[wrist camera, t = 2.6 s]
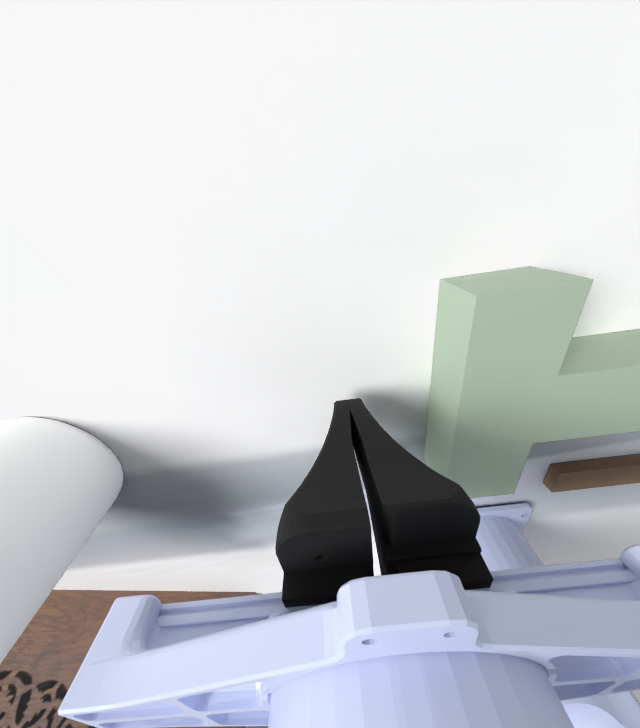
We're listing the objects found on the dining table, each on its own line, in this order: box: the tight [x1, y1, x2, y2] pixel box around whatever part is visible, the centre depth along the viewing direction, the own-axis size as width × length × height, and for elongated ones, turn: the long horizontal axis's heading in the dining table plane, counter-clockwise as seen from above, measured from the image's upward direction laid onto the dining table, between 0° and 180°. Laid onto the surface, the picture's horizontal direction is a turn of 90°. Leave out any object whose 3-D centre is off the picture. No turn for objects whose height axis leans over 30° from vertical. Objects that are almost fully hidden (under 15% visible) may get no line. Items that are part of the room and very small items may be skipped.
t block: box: [424, 266, 640, 498], centre depth 13 cm, size 12×11×3 cm
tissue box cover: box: [0, 590, 255, 728], centre depth 25 cm, size 26×14×10 cm, turn 83°
